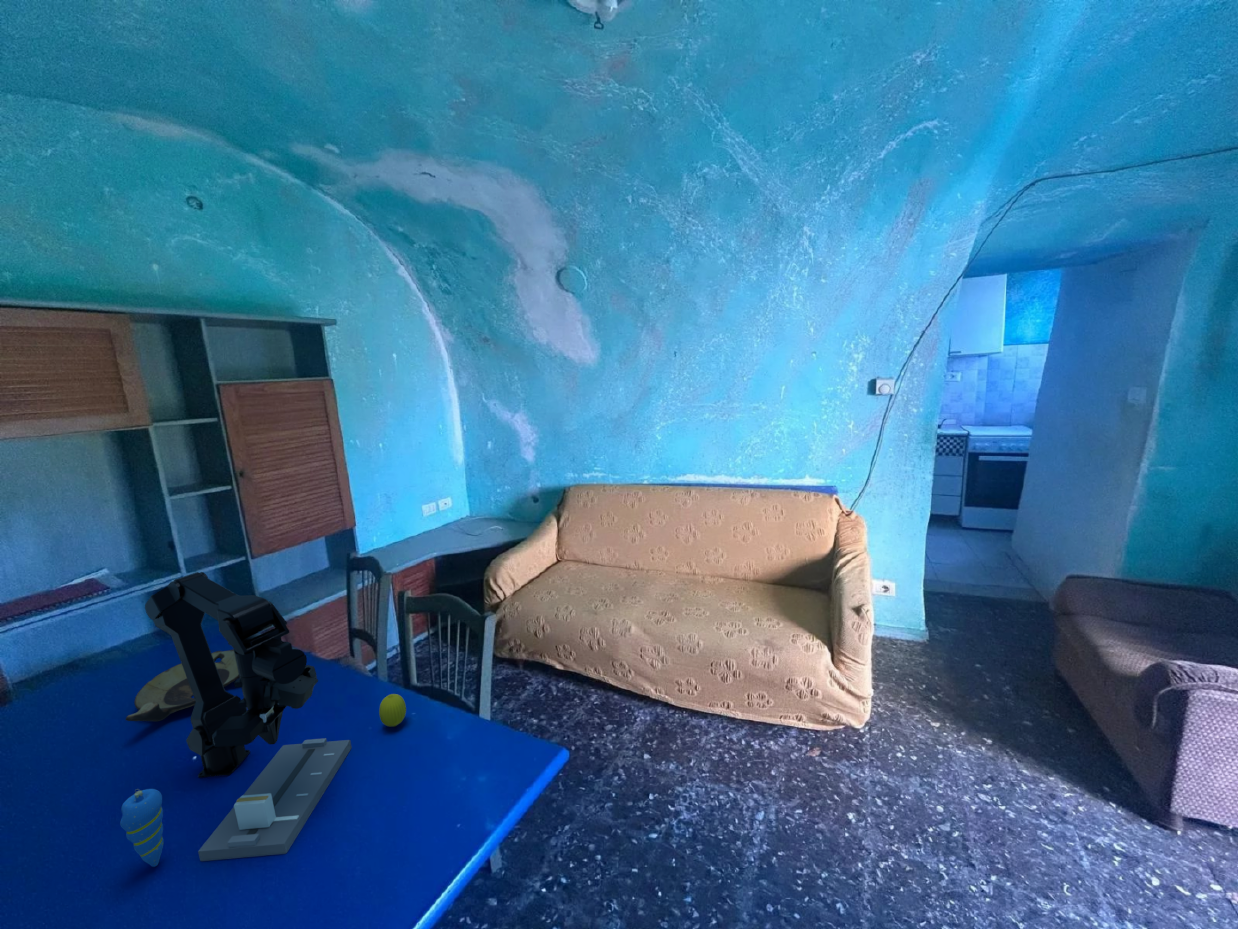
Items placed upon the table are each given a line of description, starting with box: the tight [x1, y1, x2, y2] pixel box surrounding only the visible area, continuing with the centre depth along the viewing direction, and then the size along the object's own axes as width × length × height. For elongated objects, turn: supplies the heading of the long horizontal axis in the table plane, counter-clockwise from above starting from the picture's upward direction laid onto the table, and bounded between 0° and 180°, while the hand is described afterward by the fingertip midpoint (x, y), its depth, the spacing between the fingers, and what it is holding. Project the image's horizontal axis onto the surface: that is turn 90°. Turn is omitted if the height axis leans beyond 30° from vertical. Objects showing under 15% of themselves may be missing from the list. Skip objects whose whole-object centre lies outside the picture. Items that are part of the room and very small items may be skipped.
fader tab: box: [233, 793, 276, 830], centre depth 88 cm, size 5×2×5 cm, turn 94°
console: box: [197, 737, 352, 862], centre depth 96 cm, size 14×24×3 cm, turn 3°
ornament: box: [119, 788, 165, 868], centre depth 83 cm, size 5×5×15 cm
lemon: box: [378, 693, 407, 728], centre depth 114 cm, size 6×6×8 cm
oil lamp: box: [124, 648, 240, 722], centre depth 127 cm, size 22×30×8 cm
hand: (273, 743), depth 94 cm, fingers closed
